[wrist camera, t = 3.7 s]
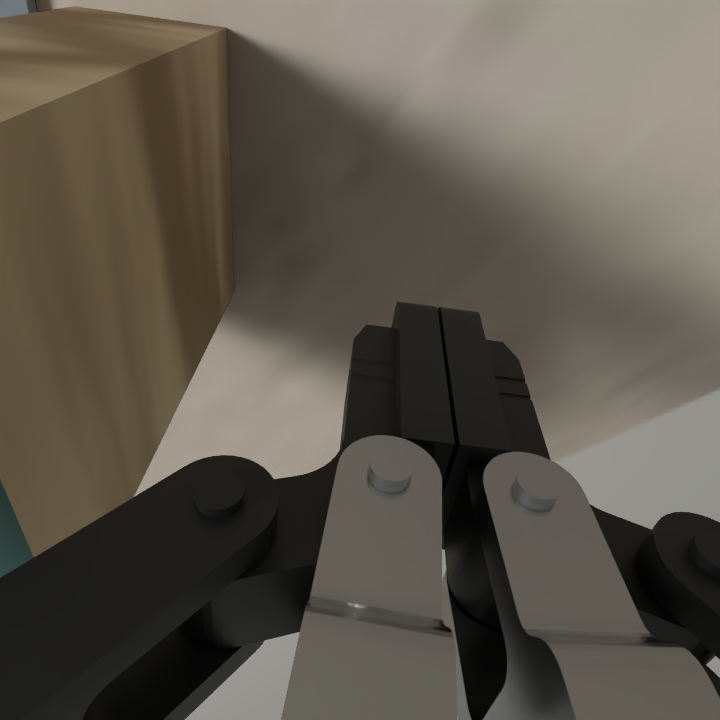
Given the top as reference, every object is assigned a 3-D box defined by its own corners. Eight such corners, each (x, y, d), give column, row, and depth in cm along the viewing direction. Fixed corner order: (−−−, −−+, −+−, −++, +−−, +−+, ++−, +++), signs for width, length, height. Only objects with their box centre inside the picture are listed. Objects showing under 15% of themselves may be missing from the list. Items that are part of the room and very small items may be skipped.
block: (226, 27, 14) (-241, 221, 4) (234, 291, 19) (35, 696, 9) (74, 6, 14) (-826, 146, 4) (120, 277, 19) (-219, 667, 9)
